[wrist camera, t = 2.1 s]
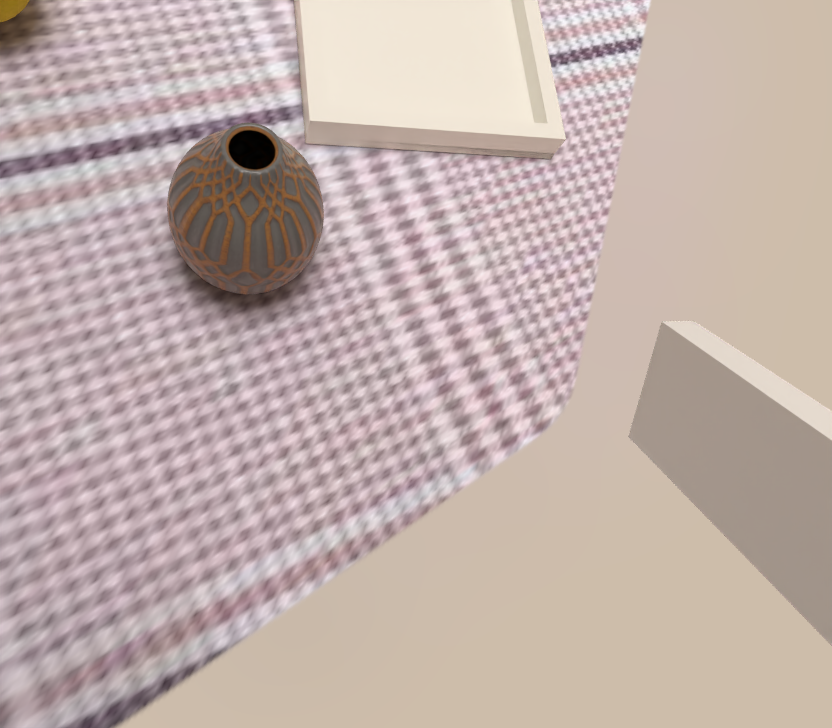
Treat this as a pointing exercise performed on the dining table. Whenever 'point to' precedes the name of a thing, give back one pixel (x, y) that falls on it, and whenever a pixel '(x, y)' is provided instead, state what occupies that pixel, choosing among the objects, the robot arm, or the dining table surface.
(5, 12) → the lemon
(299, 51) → the holder tray
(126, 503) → the dining table surface
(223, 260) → the vase
